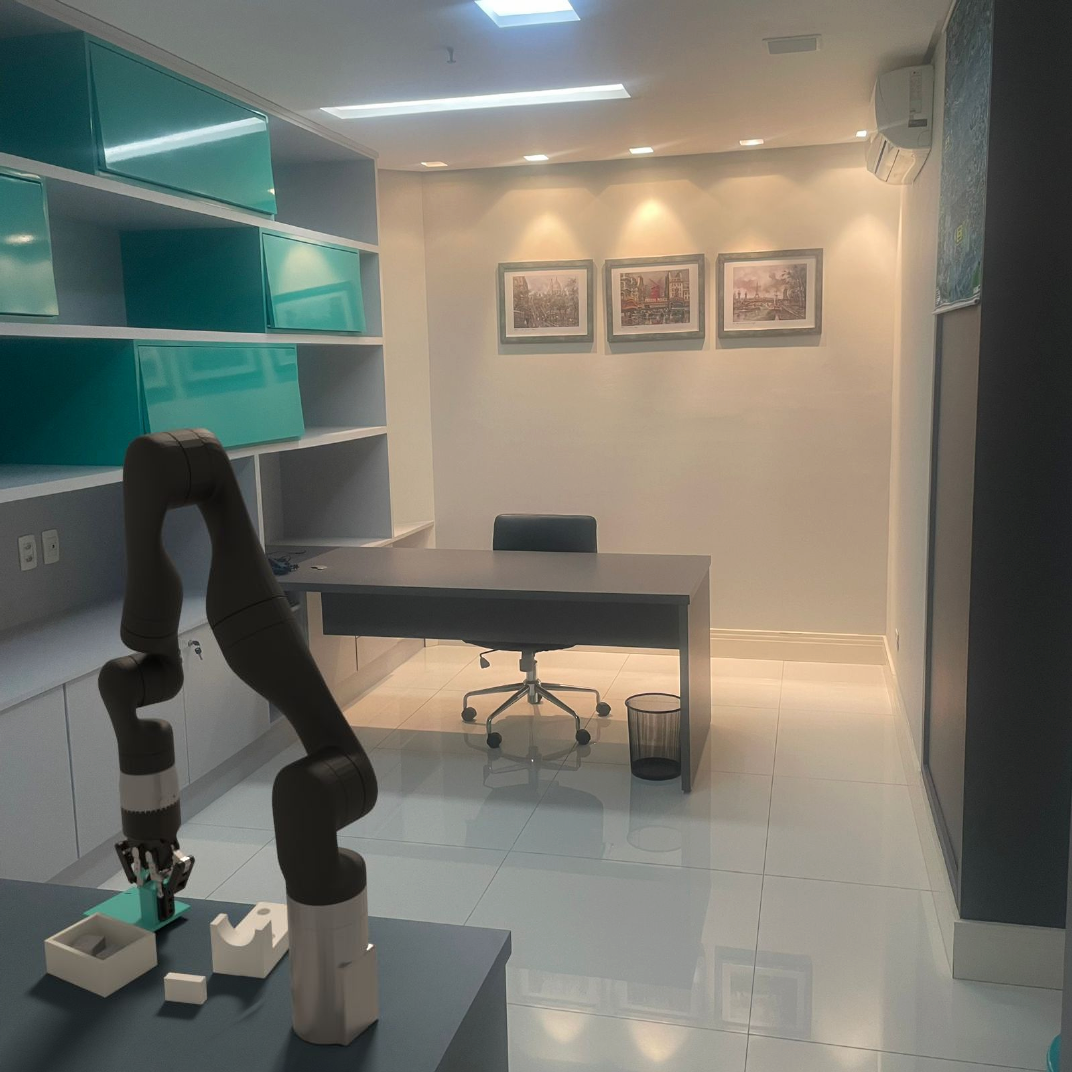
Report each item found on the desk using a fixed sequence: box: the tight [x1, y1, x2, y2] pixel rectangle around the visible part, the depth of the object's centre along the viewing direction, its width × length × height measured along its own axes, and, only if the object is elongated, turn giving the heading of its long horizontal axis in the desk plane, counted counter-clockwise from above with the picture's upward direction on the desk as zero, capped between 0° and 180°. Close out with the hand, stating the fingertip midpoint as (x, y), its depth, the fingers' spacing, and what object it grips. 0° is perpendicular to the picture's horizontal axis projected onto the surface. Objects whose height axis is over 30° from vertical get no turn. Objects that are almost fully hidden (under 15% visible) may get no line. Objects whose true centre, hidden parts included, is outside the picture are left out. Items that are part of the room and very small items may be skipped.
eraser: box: [163, 972, 208, 1005], centre depth 128 cm, size 1×5×4 cm, turn 79°
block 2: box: [96, 944, 125, 960], centre depth 133 cm, size 3×3×3 cm
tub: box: [43, 912, 158, 998], centre depth 135 cm, size 11×8×5 cm
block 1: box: [71, 935, 106, 957], centre depth 136 cm, size 3×3×3 cm
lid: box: [82, 879, 192, 933], centre depth 146 cm, size 12×9×6 cm
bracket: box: [209, 901, 289, 979], centre depth 139 cm, size 13×7×8 cm, turn 168°
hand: (158, 915), depth 144 cm, fingers closed on lid, 2 cm apart
